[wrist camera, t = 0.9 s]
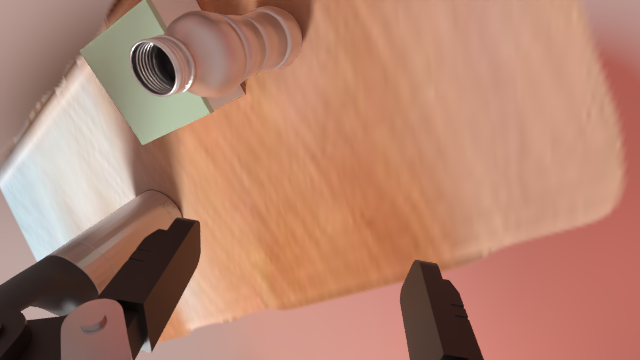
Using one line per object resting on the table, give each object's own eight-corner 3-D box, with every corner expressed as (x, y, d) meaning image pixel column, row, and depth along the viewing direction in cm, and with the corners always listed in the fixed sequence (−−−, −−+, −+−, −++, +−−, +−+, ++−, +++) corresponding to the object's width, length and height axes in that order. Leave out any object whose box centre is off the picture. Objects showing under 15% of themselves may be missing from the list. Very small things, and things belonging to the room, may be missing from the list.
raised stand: (183, 124, 48) (142, 145, 41) (131, 39, 44) (76, 46, 37) (246, 95, 42) (209, 113, 36) (193, -7, 38) (141, -7, 31)
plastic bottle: (248, 9, 37) (92, 20, 20) (303, 0, 35) (177, 4, 18) (260, 68, 40) (132, 120, 23) (312, 63, 38) (210, 116, 21)
